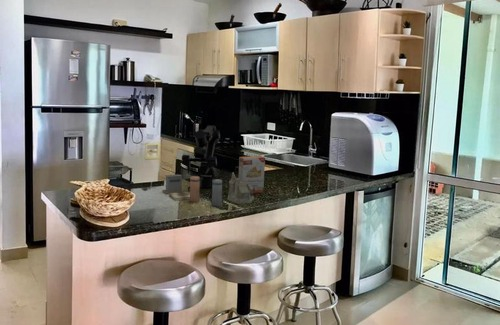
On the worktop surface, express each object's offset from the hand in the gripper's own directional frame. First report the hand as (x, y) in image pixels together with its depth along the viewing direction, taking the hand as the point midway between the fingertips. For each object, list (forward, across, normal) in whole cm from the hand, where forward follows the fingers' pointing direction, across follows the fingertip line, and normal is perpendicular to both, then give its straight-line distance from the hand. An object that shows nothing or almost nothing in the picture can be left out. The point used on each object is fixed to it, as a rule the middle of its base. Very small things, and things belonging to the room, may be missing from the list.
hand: (196, 173), depth 242 cm
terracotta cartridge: (+15, +1, +3) cm, 16 cm away
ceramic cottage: (+9, +25, +10) cm, 28 cm away
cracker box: (-3, +28, +22) cm, 36 cm away
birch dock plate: (+11, -7, +8) cm, 15 cm away
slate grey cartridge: (+19, +14, 0) cm, 23 cm away
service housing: (+4, -15, +16) cm, 22 cm away
